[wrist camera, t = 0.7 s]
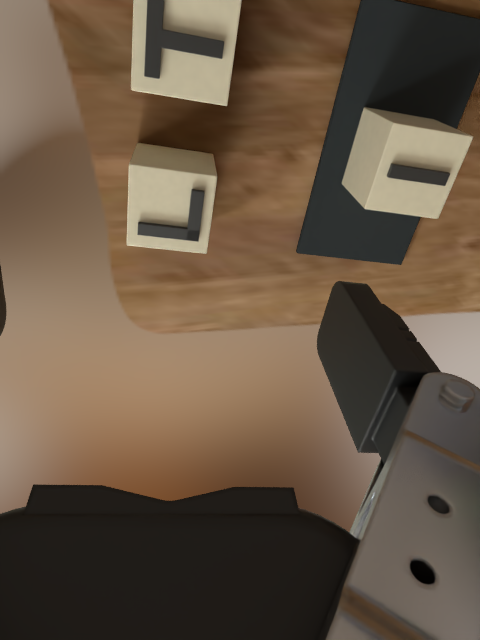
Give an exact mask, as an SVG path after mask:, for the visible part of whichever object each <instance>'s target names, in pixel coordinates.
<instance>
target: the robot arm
mask: <svg viewBox="0 0 480 640" xmlns="http://www.w3.org/2000/svg"><path fill="white" fill-rule="evenodd" d="M5 320H6V302H5V295H4V288H3V281H2V274H1V266H0V335H1V333H2V331H3V329H4V325H5ZM317 350H318V355H319V357H320V360H321V362H322V365H323V367H324V369H325V372H326V375H327V377H328V379H329V381H330V384H331V387H332V389H333V392H334V394H335V397H336V399H337V402H338V404H339V406H340V409H341V411H342V413H343V416H344V419H345V421H346V424H347V426H348V429H349V431H350V434H351V436H352V438H353V441H354V443H355V446H356V448H357V450H358V452H364V453H379V455H380V457H381V461H380V463H379V465H378V467H377V469H376V471H375V473H374V475H373V478H372V480H371V483H370V485H369V487H368V490H367V492H366V494H365V497H364V500H363V502H362V504H361V506H360V509H359V511H358V513H357V516H356V518H355V520H354V523H353V525H352V527H351V530H350V532H348V531H346V530H345V529H343V528H342V527H340V526H338V525H337V524H335V523H334V522H332V521H330V520H328V519H326V518H324V517H322V516H320V515H318V514H315V513H312V512H309V511H307V510H304V509H300V508H298V505H297V501H296V496H295V492H294V488H279V487H273V488H272V487H232V488H228V489H224V490H219V491H215V492H210V493H206V494H202V495H198V496H193V497H189V498H184V499H180V500H175V501H165V500H160V499H156V498H151V497H147V496H143V495H139V494H134V493H131V492H127V491H123V490H119V489H114V488H111V487H106V486H102V485H33V487H32V490H31V493H30V496H29V499H28V502H27V506H26V507H22V508H18V509H15V510H11V511H8V512H5V513H2V514H0V640H480V389H479V388H478V387H476V386H475V385H474V384H472V383H470V382H468V381H467V380H465V379H462V378H460V377H457V376H455V375H452V374H448V373H442V372H441V371H440V370H439V369H438V367H437V366H436V364H435V363H434V362H433V360H432V359H431V358H430V356H429V355H428V354H427V352H426V351H425V349H424V348H423V347H422V345H421V344H420V343H419V342H417V339H416V337H415V336H414V335H413V333H412V332H411V331H409V328H408V326H407V325H406V324H405V322H404V321H403V320H402V318H401V317H400V316H399V315H398V314H396V313H395V312H394V311H392V310H391V309H390V308H388V307H387V306H386V305H384V304H381V302H380V301H379V300H378V298H377V297H376V295H375V294H374V293H373V291H372V290H371V288H370V287H369V286H368V285H367V284H362V283H352V282H342V281H338V282H336V283H335V284H334V286H333V288H332V291H331V294H330V297H329V300H328V303H327V306H326V310H325V313H324V316H323V319H322V322H321V325H320V329H319V332H318V338H317Z"/></svg>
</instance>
